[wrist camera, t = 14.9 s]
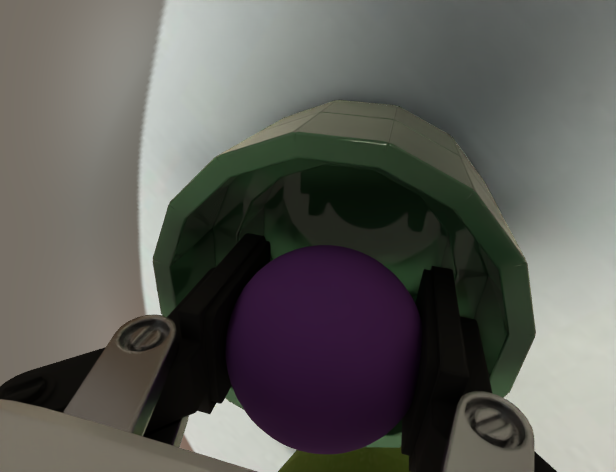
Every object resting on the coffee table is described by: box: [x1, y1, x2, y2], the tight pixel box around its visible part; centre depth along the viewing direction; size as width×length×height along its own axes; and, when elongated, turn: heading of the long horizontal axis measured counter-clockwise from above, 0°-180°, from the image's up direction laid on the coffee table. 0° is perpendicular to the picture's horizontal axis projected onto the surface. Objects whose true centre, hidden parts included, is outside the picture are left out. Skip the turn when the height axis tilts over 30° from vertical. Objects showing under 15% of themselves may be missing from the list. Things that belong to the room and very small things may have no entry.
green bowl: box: [153, 100, 536, 448], centre depth 13 cm, size 10×10×6 cm
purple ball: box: [225, 245, 422, 454], centre depth 10 cm, size 5×5×5 cm
